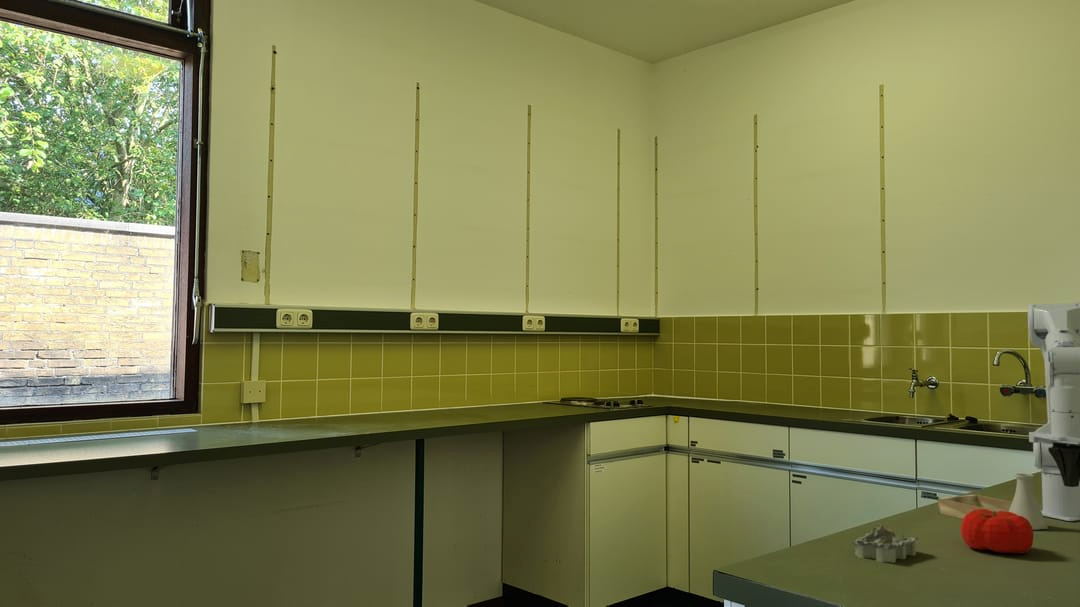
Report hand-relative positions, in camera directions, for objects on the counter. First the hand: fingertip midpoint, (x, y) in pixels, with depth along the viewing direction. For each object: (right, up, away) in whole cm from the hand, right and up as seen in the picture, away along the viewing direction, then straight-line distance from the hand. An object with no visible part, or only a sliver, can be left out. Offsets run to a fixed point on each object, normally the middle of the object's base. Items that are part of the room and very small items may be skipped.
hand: (1071, 486), depth 147 cm
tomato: (-19, -9, -9) cm, 23 cm away
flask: (-4, -10, +8) cm, 13 cm away
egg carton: (-39, -9, -12) cm, 42 cm away
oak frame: (-7, -10, +17) cm, 21 cm away
